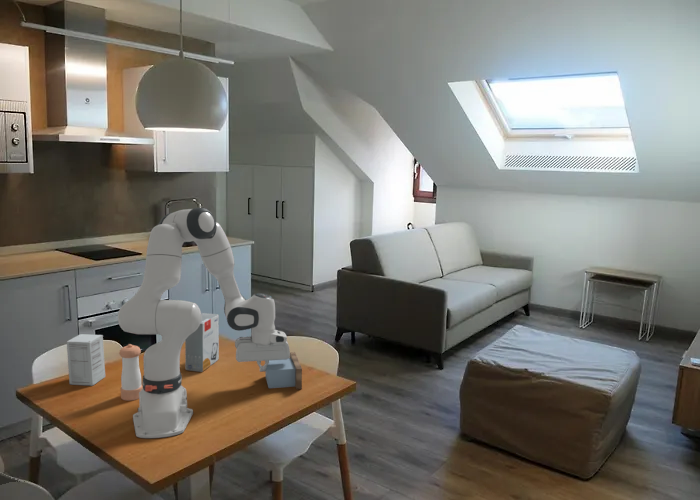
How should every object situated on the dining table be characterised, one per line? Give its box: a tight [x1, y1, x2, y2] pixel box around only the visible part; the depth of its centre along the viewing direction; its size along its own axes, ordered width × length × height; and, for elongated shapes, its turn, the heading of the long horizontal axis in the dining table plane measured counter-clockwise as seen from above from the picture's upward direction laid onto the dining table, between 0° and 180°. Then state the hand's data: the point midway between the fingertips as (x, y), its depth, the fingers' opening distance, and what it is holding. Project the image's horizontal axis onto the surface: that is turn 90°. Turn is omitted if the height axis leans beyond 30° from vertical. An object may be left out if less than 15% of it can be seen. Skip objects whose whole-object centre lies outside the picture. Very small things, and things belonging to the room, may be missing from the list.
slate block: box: [265, 357, 295, 389], centre depth 216 cm, size 12×10×7 cm
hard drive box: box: [184, 312, 220, 373], centre depth 230 cm, size 16×8×20 cm, turn 168°
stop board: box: [289, 351, 303, 390], centre depth 217 cm, size 18×2×8 cm, turn 14°
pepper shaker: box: [119, 343, 143, 401], centre depth 198 cm, size 7×7×19 cm
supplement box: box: [66, 333, 106, 387], centre depth 211 cm, size 10×9×17 cm
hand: (262, 371), depth 214 cm, fingers closed
